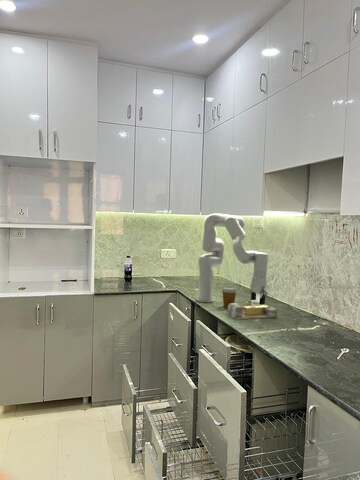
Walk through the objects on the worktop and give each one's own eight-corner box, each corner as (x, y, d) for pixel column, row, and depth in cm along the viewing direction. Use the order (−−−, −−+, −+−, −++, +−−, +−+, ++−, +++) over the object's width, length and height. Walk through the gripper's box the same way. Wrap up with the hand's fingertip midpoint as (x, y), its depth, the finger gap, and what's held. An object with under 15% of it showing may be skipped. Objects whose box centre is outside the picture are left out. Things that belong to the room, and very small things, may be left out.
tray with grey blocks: (225, 313, 218) (225, 302, 218) (263, 311, 227) (264, 300, 226) (236, 319, 205) (236, 308, 205) (276, 317, 214) (277, 305, 213)
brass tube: (242, 313, 217) (243, 306, 216) (264, 311, 221) (264, 305, 221) (246, 315, 212) (246, 308, 212) (268, 313, 217) (268, 307, 217)
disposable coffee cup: (238, 306, 236) (239, 288, 235) (232, 309, 228) (233, 290, 227) (224, 304, 241) (225, 286, 240) (218, 307, 233) (219, 288, 232)
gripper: (247, 270, 223) (244, 298, 225) (262, 276, 207) (259, 306, 208) (257, 270, 226) (255, 298, 227) (273, 276, 209) (271, 306, 211)
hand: (257, 302), depth 218 cm, fingers open, 9 cm apart
